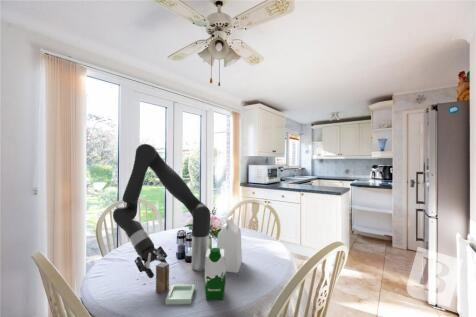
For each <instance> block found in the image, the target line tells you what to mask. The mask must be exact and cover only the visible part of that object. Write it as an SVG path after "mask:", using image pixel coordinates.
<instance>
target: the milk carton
mask: <svg viewBox="0 0 476 317" xmlns="http://www.w3.org/2000/svg"><path fill="white" fill-rule="evenodd" d="M225 260H226V256H225V250H224V249H219V248H217V247H212V248H210V249H208V250H207V252H206V257H205V270H204V292H205V300H206V301H214V300H215V301H219V300H220V301H223V300H224V294H225V289H226V279H227V278H226V277H227V276H226V273H227V272H226V261H225Z"/></svg>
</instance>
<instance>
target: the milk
mask: <svg viewBox="0 0 476 317" xmlns="http://www.w3.org/2000/svg"><path fill="white" fill-rule="evenodd" d="M216 239H217V242H216V248H219V249H224V250H225V256H226V260H225V261H226V273H229V272H230V273H236V274H237V273H239V271H240V268H241V266H242V264H243V256H242V255H243V253H242V251H243V250H242V232H241V227H239V226H238V225H237V224H236V223H235V222H234V221H233V216H229V217H228V218H227V220H226V223H224V224H223V225H222V226H221V230H220V231H218V234H217V238H216Z"/></svg>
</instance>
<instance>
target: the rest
mask: <svg viewBox="0 0 476 317" xmlns="http://www.w3.org/2000/svg"><path fill="white" fill-rule="evenodd" d="M195 290H196V284H171V287H170V288H169V290H168V293H167V296H166V298H165V305H191V304H192V302H193V297H194V294H195Z"/></svg>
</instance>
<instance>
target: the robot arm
mask: <svg viewBox="0 0 476 317" xmlns="http://www.w3.org/2000/svg"><path fill="white" fill-rule="evenodd" d="M149 168H150V169H151V170H152V171H153V172H154V174H155V175H156V177H157V178H158V180H159V182H160V183H161V184H162V186H163V187H164V188H165V189H166V190H167V192H169V193H170V194H171V195H172V196H173V197H174V198H175V199H176V200H178V201H179V202H180V203H182V205H183V206H184V207H185V208H186V209H187V210H188V212H189V213H190V215H191V216H192V229H191V269H192V270H194V271H197V272H198V271H201V272H202V271H205V257H206V252H207V250H208V249H211V248H210V230H211V211H210V209H209V208H208V206H207V205H206V204H204V203H203V202H202V201H200V200H199V199H198V198H197V197H196V196H195V194H194V193H193V192H192V190H191V188H190V187H189V186H188V185H187V183H186V182H185V181H184V179H183V178H182V177H181V176H180V175H179V174H178V173H177V172H176V171H175V170H174V169H173V168H172V167H171V166H170V165H169V164H167V163H166V162H165V160H164V159H163V158H162V156H160V154H159V152H158V151H157V150H156V148H155V146H153V144H150V143H142V144H140V145H139V146H137V147H136V150H135V156H134V163H133V166H132V171H131V173H130V174H131V175H130V176H129V178H128V182H127V184H126V187H125V190H124V193H123V195H122V197H121V198H122V201H123V203H126V206H124V207H123V206H122V207H121V206H120V207H117V208H116V209H114V210H113V213H112V218H113V221H114V222H115V224H116V225H117V226H118V227H119V228H120V229H121V230H123V231H124V232H125V235H127V237H128V239H129V240H130V241H129V242H130V243H131V245H132V246H133V248H134V251H135V252H136V253H137V255H138V256H137V257H136V258H135V259H134V263H135V265H136V267H137V269H138V271H139V272H140V273H143V272H145V274H146V276H147V277H148V278H149V279H153V278H154V277H155V274H154V272H153V271H152V269H151V267H150V264H151V263H152V262H154V261H157V262H159V263H161V262H164V263H168V262H167V260H166V259H167V257H168V254H167V253H166V251H165V250H164V249H163V247H162V246H158V247H157V248H155V244H154V243H153V241H152V239H151V237H150V236H149V234H148V232H147V231H146V230H145V228H144V227H143V226H142V224H141V223H140V221H139V220H134V219H135V218H136V217H137V214H138V206H139V204H138V203H139V202H138V201H139V198H140V195H141V192H142V189H143V186H144V182H145V177H146V174H147V172H148V169H149Z"/></svg>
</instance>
